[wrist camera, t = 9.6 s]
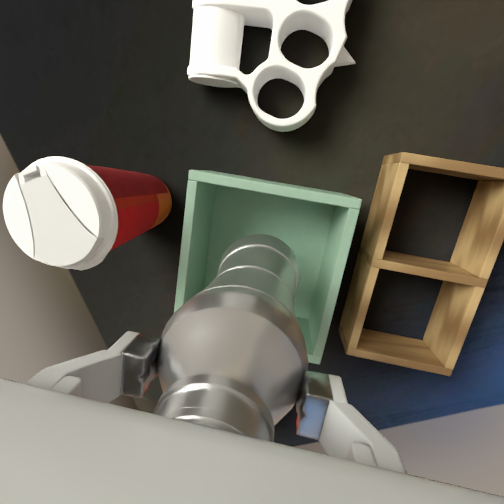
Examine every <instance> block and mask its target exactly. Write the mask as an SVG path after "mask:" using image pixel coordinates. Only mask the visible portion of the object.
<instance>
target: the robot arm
mask: <svg viewBox="0 0 504 504" xmlns="http://www.w3.org/2000/svg"><path fill="white" fill-rule="evenodd" d="M161 340H162V339H161V338H157V337H153V336H149V335H145V334H140V333H136V332H131V331H128V332H126V333H125V334H124V335H123V336H122V337H121V338H120V339H119V340H118V341H117V342H116V343H114V344H113V345H112V346H111V347H110V348H109V349H108V350H101V351H98V352H95V353H92V354H89V355H85V356H83V357H79V358H76V359H73V360H70V361H66V362H63V363H60V364H57V365H53V366H51V367H47V368H44V369H43V370H41V371H40V372H39V373H38V374H36V375H35V376H34V377H32V378H31V379H30V380H29V381H27V382H26V383H25V384H24V383H20V382H16V381H12V380H7V379H3V378H0V504H504V497H502V496H498V495H494V494H490V493H486V492H481V491H477V490H473V489H469V488H464V487H460V486H456V485H452V484H448V483H443V482H439V481H435V480H430V479H426V478H422V477H418V476H413V475H409V474H407V471H406V469H405V466H404V464H403V461H402V459H401V456H400V454H399V451H398V450H397V449H396V448H395V447H394V446H393V445H392V444H391V443H390V442H389V441H388V440H387V439H386V438H385V437H384V436H383V435H382V434H381V433H380V432H379V431H378V430H377V429H376V428H375V427H374V426H373V425H372V424H371V423H370V422H369V421H368V420H366V419H365V418H364V417H363V416H362V415H361V414H360V413H359V412H358V411H357V410H356V409H355V408H354V407H353V406H352V405H350V404H348V402H347V398H346V394H345V391H344V387H343V383H342V379H341V377H340V376H335V375H329V374H323V373H318V372H313V371H308V370H304V373H303V379H302V384H301V392H300V394H299V396H298V400H297V401H296V412H297V414H298V415H297V420H296V428H297V435H301V436H304V437H308V438H312V439H316V440H319V443H320V444H321V446H322V448H323V449H324V451H325V452H326V454H327V455H325V454H321V453H317V452H312V451H308V450H304V449H300V448H295V447H291V446H287V445H283V444H278V443H274V442H270V441H266V440H261V439H257V438H253V437H249V436H245V435H240V434H236V433H232V432H228V431H223V430H219V429H214V428H210V427H206V426H202V425H197V424H193V423H189V422H185V421H181V420H177V419H173V418H168V417H164V416H160V415H156V414H151V413H147V412H143V411H139V410H134V409H130V408H126V407H121V406H117V405H113V404H109V403H108V402H110V401H112V400H113V399H115V398H117V397H118V396H120V395H121V394H123V395H128V396H133V397H138V398H142V397H143V395H144V394H145V392H146V391H147V389H148V388H149V383H150V381H152V380H154V379H155V377H156V376H157V374H158V372H157V355H158V351H159V346H160V343H161Z"/></svg>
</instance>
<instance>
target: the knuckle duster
mask: <svg viewBox="0 0 504 504" xmlns="http://www.w3.org/2000/svg"><path fill="white" fill-rule="evenodd" d="M351 3H352V0H328V1H326V2H322V3H318V4H313V5H305V4H302V3H300V2H298V1H297V0H193V1H192V8H193V9H194V12H193V25H192V39H191V52H190V65H189V66H188V68H187V75H188V76H189V78H188V79H189V80H190V81H192V82H195V83H199V84H203V85H208V86H214V87H225V88H232V87H237V88H242V89H243V90H244V91H245V92H246V93H247V94H248V99H249V102H250V105H251V107H252V109H253V111H254V113H255V115H256V116H257V118H258V119H259V120H260V122H261V123H262V124H264V125H265V126H266V127H268V128H270V129H272V130H275V131H279V132H287V131H292V130H295V129H297V128H299V127H301V126H303V125H304V124H305V123H306V122H307V121H308V120H309V119H310V118H311V117H312V115H313V114H314V111H315V109H316V93H317V90H318V88H319V86H320V85H321V83H322V82H323V81H324V80H325V79H326V78H327V77H328V76H329V75H331V74H332V71H333V69H334V67H337V66H344V65H351V64H356V63H355V61H354V60H353V58H352V57H351V56H350V54H349V53H348V51H347V50H346V49H345V47H344V44H345V42H346V39H347V34H346V30H345V15H346V13H347V12H348V10H349V8H350V6H351ZM244 25H245V26H255V27H264V28H270V29H271V30H272V37H271V44H270V51H269V57H268V59H267V60H266V61H265V62H264V63H262V64H260V65H259V66H258V67H257V68H256V69H255V70H254V71H253V72H252V73H251V74H249V75H245V74H243V73H242V72H241V71H240V70H239V66H240V57H241V48H242V40H243V31H244ZM297 30H307V31H310V32H312V33H314V34H316V35H318V36H320V37H321V38H322V39H323V40H324V41H325V42H326V44H327V46H328V50H329V57H328V58H327V60H326V61H325V62H324V63H322V64H321V65H319V66H318V67H315V68H310V69H307V68H302V67H299V66H297V65H295V64H293V63H291V62H289V61H288V60H287V59H286V58H285V57H284V56H283V54H282V52H281V46H282V44H283V42H284V40H285V39H286V37H287V36H288V35H289V34H291V33H292V32H294V31H297ZM275 78H281V79H285V80H287V81H289V82H291V83H293V84H295V85H296V86H297V87H298V88H299V89H300V90H301V92H302V94H303V97H304V104H303V106H302V108H301V109H300V111H299V112H298V113H297V114H296V115H294V116H292V117H290V118H287V119H278V118H275V117H273V116H271V115H269V114H267V113H265V112H263V111H262V110H261V109H260V108H259V106H258V94H259V91H260V89H261V88H262V86H263V85H264V84H265V83H266V82H268V81H269V80H271V79H275Z"/></svg>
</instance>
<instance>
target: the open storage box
mask: <svg viewBox="0 0 504 504" xmlns="http://www.w3.org/2000/svg"><path fill="white" fill-rule="evenodd" d="M361 202H362V200H361V199H359V198H356V197H353V196H350V195H347V194H343V193H338V192H332V191H326V190H320V189H314V188H309V187H303V186H297V185H291V184H285V183H279V182H274V181H268V180H262V179H256V178H250V177H245V176H239V175H233V174H227V173H221V172H216V171H203V170H189V176H188V185H187V194H186V204H185V213H184V222H183V232H182V241H181V251H180V260H179V270H178V279H177V288H176V298H175V307H174V313H175V312H176V311H177V310H178V309H179V308H180V307H181V306H182V305H183V304H185V303H186V302H187V301H188V300H189V299H191V298H192V297H194V296H195V295H196V294H198V293H199V292H200V291H202V290H203V289H205V288H206V287H207V286H209V285H210V283H211V282H212V281H213V280H214V279H215V278H216V276H217V274H218V269H219V264H220V261H221V258H222V256H223V254H224V252H225V251H226V250H227V248H228V247H229V246H230V245H231V244H232V243H234V242H235V241H237V240H239V239H240V238H243V237H246V236H249V235H254V234H267V235H271V236H274V237H276V238H278V239H280V240H282V241H283V242H285V243H286V244H287V245H288V246H289V247H290V248H291V249H292V250H293V252H294V253H295V255H296V257H297V258H298V261H299V264H300V269H301V279H300V283H299V286H298V290H297V293H296V294H295V296H294V301H293V303H294V310H295V315H296V317H297V320H298V323H299V326H300V328H301V331H302V334H303V336H304V339H305V345H306V349H307V356H308V362H310V363H314V364H320V362H321V359H322V355H323V351H324V347H325V343H326V339H327V336H328V332H329V328H330V324H331V320H332V316H333V312H334V308H335V304H336V300H337V297H338V293H339V289H340V285H341V281H342V277H343V273H344V269H345V265H346V261H347V258H348V254H349V250H350V246H351V242H352V238H353V234H354V230H355V226H356V222H357V219H358V215H359V211H360V210H359V209H360V206H361Z"/></svg>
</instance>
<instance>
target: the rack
mask: <svg viewBox="0 0 504 504" xmlns="http://www.w3.org/2000/svg"><path fill="white" fill-rule="evenodd" d="M408 169H413V170H419V171H425V172H431V173H437V174H443V175H450V176H456V177H462V178H468V179H474V180H479V181H478V183H477V186H476V188H475V191H474V194H473V197H472V200H471V203H470V206H469V208H468V211H467V214H466V217H465V220H464V223H463V226H462V228H461V231H460V234H459V237H458V240H457V243H456V246H455V248H454V251H453V254H452V257H451V260H450V262H446V261H440V260H435V259H429V258H424V257H418V256H413V255H408V254H402V253H397V252H391V251H386V250H385V248H386V244H387V241H388V237H389V234H390V230H391V227H392V223H393V220H394V216H395V213H396V209H397V206H398V202H399V199H400V196H401V192H402V189H403V185H404V182H405V178H406V175H407V171H408ZM503 240H504V168H499V167H493V166H487V165H481V164H474V163H468V162H462V161H456V160H449V159H443V158H437V157H431V156H424V155H418V154H412V153H405V152H401V153H397V154H392V155H387V156H384V158H383V162H382V166H381V170H380V173H379V177H378V181H377V185H376V188H375V192H374V196H373V200H372V204H371V207H370V211H369V215H368V219H367V222H366V226H365V230H364V234H363V237H362V241H361V245H360V249H359V254H358V257H357V260H356V264H355V268H354V272H353V275H352V279H351V283H350V287H349V290H348V294H347V298H346V302H345V306H344V309H343V313H342V317H341V321H340V325H339V328H338V330H339V333H340V336H341V339H342V343H343V346H344V349H345V352H346V354H347V355H351V356H356V357H361V358H366V359H370V360H375V361H380V362H385V363H389V364H394V365H399V366H404V367H408V368H413V369H418V370H423V371H427V372H432V373H437V374H442V375H446V376H451V373H452V371H453V369H454V366H455V364H456V361H457V358H458V356H459V353H460V351H461V348H462V346H463V343H464V340H465V338H466V335H467V333H468V330H469V328H470V325H471V323H472V320H473V317H474V315H475V312H476V310H477V307H478V305H479V302H480V300H481V297H482V294H483V292H484V289H485V287H486V284H487V282H488V279H489V276H490V274H491V271H492V269H493V266H494V263H495V261H496V258H497V256H498V253H499V251H500V248H501V246H502V243H503ZM379 268H380V269H386V270H391V271H396V272H402V273H407V274H412V275H418V276H423V277H428V278H433V279H439V280H443V283H442V285H441V288H440V291H439V294H438V297H437V300H436V303H435V306H434V308H433V311H432V314H431V317H430V320H429V323H428V326H427V328H426V331H425V334H424V337H423V340H419V339H414V338H409V337H404V336H399V335H394V334H389V333H384V332H379V331H374V330H369V329H365V328H362V327H363V324H364V320H365V317H366V313H367V310H368V306H369V303H370V299H371V296H372V292H373V289H374V285H375V282H376V279H377V275H378V272H379Z"/></svg>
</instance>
